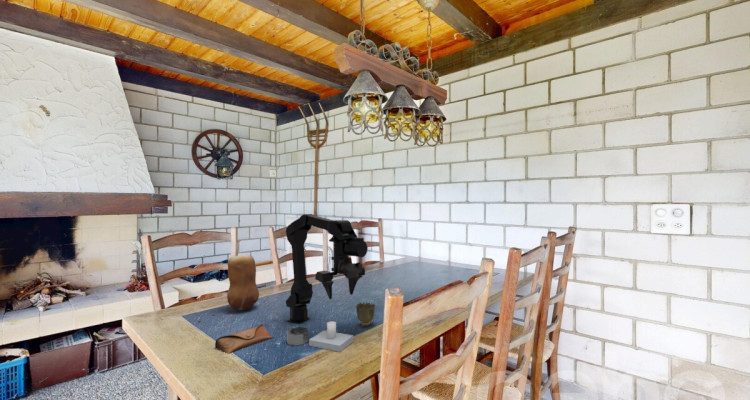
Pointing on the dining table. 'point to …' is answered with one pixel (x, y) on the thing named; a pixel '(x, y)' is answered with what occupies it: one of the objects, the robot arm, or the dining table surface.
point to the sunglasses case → (242, 339)
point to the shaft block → (331, 339)
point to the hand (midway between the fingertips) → (341, 296)
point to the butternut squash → (242, 282)
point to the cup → (365, 313)
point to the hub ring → (297, 336)
